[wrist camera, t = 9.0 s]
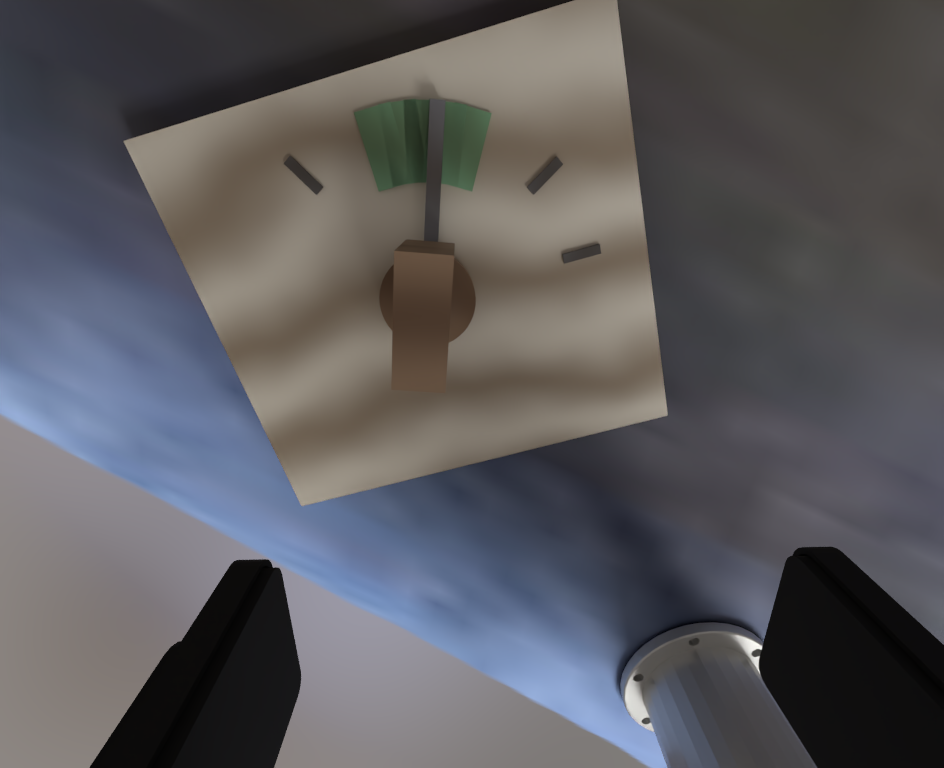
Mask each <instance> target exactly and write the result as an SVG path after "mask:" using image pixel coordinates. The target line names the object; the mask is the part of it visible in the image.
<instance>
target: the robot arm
mask: <svg viewBox="0 0 944 768" xmlns="http://www.w3.org/2000/svg"><path fill="white" fill-rule="evenodd" d="M300 684H301V670H300V665H299V661H298V656H297V650H296V644H295V639H294V635H293V629H292V624H291V619H290V614H289V608H288V603H287V598H286V593H285V588H284V582H283V577H282V573H281V570H280V569H279V568H273V567H272V564H271V562H270V561H269V560H236V561H234V562H233V563H232V564H231V565H230V567H229V569H228V570H227V571H226V573H225V574H224V576H223V578H222V579H221V581H220V582H219V584H218V585H217V587H216V588H215V590H214V592H213V593H212V595H211V596H210V598H209V599H208V601H207V602H206V604H205V606H204V607H203V609H202V610H201V612H200V613H199V615H198V616H197V618H196V619H195V621H194V622H193V624H192V626H191V627H190V629H189V630H188V632H187V634H186V635H185V636H184V638H183V640H182V641H181V642H177V643H176V644H174V645H173V646H172V647H171V648H170V649H169V650H168V651H167V652H166V654H165V655H164V656H163V658H162V659H161V661H160V662H159V664H158V665H157V667H156V668H155V670H154V671H153V673H152V674H151V676H150V677H149V679H148V680H147V682H146V683H145V685H144V686H143V688H142V689H141V691H140V692H139V694H138V695H137V697H136V698H135V700H134V701H133V703H132V704H131V706H130V707H129V709H128V710H127V712H126V713H125V715H124V716H123V718H122V719H121V721H120V723H119V724H118V725H117V727H116V729H115V730H114V732H113V733H112V734H111V736H110V737H109V739H108V741H107V742H106V744H105V745H104V747H103V748H102V750H101V751H100V753H99V754H98V756H97V757H96V759H95V760H94V762H93V763H92V765H91V766H90V768H274V765H275V763H276V760H277V757H278V754H279V751H280V748H281V745H282V742H283V739H284V736H285V733H286V730H287V727H288V724H289V721H290V718H291V715H292V712H293V709H294V706H295V703H296V700H297V697H298V694H299V690H300ZM620 687H621V695H622V698H623V701H624V704H625V707H626V709H627V711H628V713H629V715H630V716H631V717H632V718H633V719H634V720H635V721H636V722H637V723H638V724H640V725H641V726H643V727H644V728H646V729H648V730H650V731H653V732H655V734H656V737H657V740H658V743H659V745H660V748H661V751H662V753H663V756H664V759H665V762H666V764H667V767H668V768H944V645H943V644H942V643H941V642H940V641H939V640H938V639H936V638H935V637H934V636H933V635H932V634H931V633H930V632H929V631H928V630H927V629H925V628H924V627H923V626H922V625H921V624H920V623H919V622H918V621H917V620H916V619H915V618H913V617H912V616H911V615H910V614H909V613H908V612H907V611H906V610H905V609H904V608H903V607H901V606H900V605H899V604H898V603H897V602H896V601H895V600H894V599H893V598H892V597H891V596H889V595H888V594H887V593H886V592H885V591H884V590H883V589H882V588H881V587H880V586H879V585H877V584H876V583H875V582H874V581H873V580H872V579H871V578H870V577H869V576H868V575H867V574H865V573H864V572H863V571H862V570H861V569H860V568H859V567H858V566H857V565H856V564H855V563H853V562H852V561H851V560H850V559H849V558H848V557H847V556H846V555H845V554H844V553H843V552H841V551H840V550H838V549H837V548H834V547H802V548H798V549H797V550H795V552H794V554H793V556H790V557H788V558H787V560H786V562H785V566H784V570H783V573H782V577H781V581H780V584H779V588H778V592H777V595H776V599H775V603H774V606H773V610H772V613H771V617H770V621H769V624H768V628H767V632H766V635H765V639H764V643H763V642H762V641H761V640H760V639H759V638H758V637H757V636H756V635H754V634H753V633H752V632H750V631H748V630H746V629H744V628H742V627H738V626H735V625H731V624H726V623H716V622H707V623H695V624H690V625H684V626H681V627H678V628H675V629H672V630H669V631H667V632H665V633H663V634H661V635H658V636H656V637H655V638H653V639H652V640H650V641H649V642H647V643H646V644H644V645H643V646H642V647H641V648H640V649H639V650H638V651H637V652H636V653H635V654H634V655H633V656H632V658H631V659H630V660H629V662H628V663H627V665H626V667H625V669H624V671H623V673H622V678H621V682H620Z"/></svg>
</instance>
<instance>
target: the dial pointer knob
mask: <svg viewBox="0 0 944 768" xmlns="http://www.w3.org/2000/svg"><path fill="white" fill-rule="evenodd" d="M445 104H446V102H445V100H440V99H430V108H429V132H428V156H427V179H426V203H425V227H424V241H421V240H409V239H406V240H405V241H404V242H403V243H402V244H401V245H400V246H399V247H398V248H396V249H395V250H394V264H393V265H392V266H391V268H390V269H389V270H388V272H387V273H386V275H385V277H384V279H383V281H382V284H381V288H380V294H379V302H380V308H381V312H382V315H383V317H384V320H385V322H386V323H387V325H388V326H389V328H390V329H391V330H392V380H391V390H402V391H418V392H434V393H445V390H446V375H447V360H448V345H449V342H451V341H453V340H455V339H456V338H457V337H459V336H460V335H461V334H462V333H463V332H464V331H465V330H466V328H467V327H468V326H469V324H470V322H471V320H472V318H473V315H474V311H475V306H476V296H475V289H474V285H473V282H472V279H471V277H470V275H469V273H468V271H467V270H466V269H465V267H464V266H463V265H462V264H461V263H460V262H459V261H458V260H457V259H455V258H454V251H455V243H446V242H438V236H439V217H440V198H441V179H442V160H443V141H444V123H445Z"/></svg>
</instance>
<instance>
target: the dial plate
mask: <svg viewBox="0 0 944 768" xmlns="http://www.w3.org/2000/svg"><path fill="white" fill-rule="evenodd" d="M430 99H440V100H445V102H446V104H445V123H444V141H443V160H442V179H441V198H440V217H439V236H438V242H446V243H455V251H454V258H455V259H457V260H458V261H459V262H460V263H461V264H462V265H463V266H464V267H465V269H466V270H467V271H468V273H469V275H470V277H471V279H472V282H473V285H474V289H475V296H476V306H475V311H474V315H473V318H472V320H471V322H470V324H469V326H468V327H467V328H466V330H465V331H464V332H463V333H462V334H461V335H460V336H459V337H457V338H456V339H455V340H453V341H451V342H449V345H448V360H447V375H446V390H445V393H434V392H418V391H402V390H391V380H392V330H391V329H390V328H389V326H388V325H387V323H386V322H385V320H384V317H383V315H382V312H381V308H380V302H379V294H380V288H381V284H382V281H383V279H384V277H385V275H386V273H387V272H388V270H389V269H390V268H391V266H392V265H393V264H394V250H395V249H396V248H398V247H399V246H400V245H401V244H402V243H403V242H404V241H405V240H406V239H409V240H421V241H424V227H425V203H426V179H427V156H428V132H429V108H430ZM124 144H125V146H126V148H127V150H128V152H129V154H130V156H131V158H132V160H133V162H134V164H135V166H136V168H137V170H138V172H139V174H140V176H141V178H142V180H143V182H144V184H145V187H146V189H147V191H148V193H149V195H150V197H151V199H152V201H153V203H154V205H155V207H156V209H157V211H158V213H159V215H160V217H161V219H162V221H163V223H164V225H165V227H166V230H167V232H168V234H169V236H170V238H171V240H172V242H173V244H174V246H175V248H176V250H177V252H178V254H179V256H180V258H181V260H182V262H183V264H184V266H185V268H186V270H187V273H188V275H189V277H190V279H191V281H192V283H193V285H194V287H195V289H196V291H197V293H198V295H199V297H200V299H201V301H202V303H203V305H204V307H205V309H206V311H207V313H208V316H209V318H210V320H211V322H212V324H213V326H214V328H215V330H216V332H217V334H218V336H219V338H220V340H221V342H222V344H223V346H224V348H225V350H226V352H227V354H228V356H229V359H230V361H231V363H232V365H233V367H234V369H235V371H236V373H237V375H238V377H239V379H240V381H241V383H242V385H243V387H244V389H245V391H246V393H247V395H248V397H249V399H250V402H251V404H252V406H253V408H254V410H255V412H256V414H257V416H258V418H259V420H260V422H261V424H262V426H263V428H264V430H265V432H266V434H267V436H268V438H269V440H270V442H271V445H272V447H273V449H274V451H275V453H276V455H277V457H278V459H279V461H280V463H281V465H282V467H283V469H284V471H285V473H286V475H287V477H288V479H289V481H290V483H291V485H292V488H293V490H294V492H295V494H296V496H297V498H298V500H299V502H300V504H301V506H305V505H309V504H313V503H317V502H321V501H325V500H329V499H333V498H337V497H341V496H345V495H349V494H353V493H357V492H361V491H365V490H369V489H373V488H377V487H381V486H385V485H390V484H394V483H398V482H402V481H406V480H410V479H414V478H418V477H422V476H426V475H430V474H434V473H438V472H442V471H446V470H450V469H454V468H458V467H462V466H466V465H470V464H474V463H478V462H482V461H486V460H490V459H494V458H499V457H503V456H507V455H511V454H515V453H519V452H523V451H527V450H531V449H535V448H539V447H543V446H547V445H551V444H555V443H559V442H563V441H567V440H571V439H575V438H579V437H583V436H587V435H591V434H595V433H599V432H603V431H608V430H612V429H616V428H620V427H624V426H628V425H632V424H636V423H640V422H644V421H648V420H652V419H656V418H660V417H664V416H668V413H667V405H666V396H665V388H664V380H663V372H662V364H661V356H660V347H659V339H658V331H657V323H656V315H655V307H654V298H653V290H652V282H651V274H650V266H649V258H648V250H647V241H646V233H645V225H644V217H643V209H642V201H641V192H640V184H639V176H638V168H637V160H636V152H635V143H634V135H633V127H632V119H631V111H630V103H629V94H628V86H627V78H626V70H625V62H624V54H623V45H622V37H621V29H620V21H619V13H618V5H617V0H574V1H570V2H567V3H564V4H561V5H558V6H554V7H551V8H548V9H545V10H542V11H538V12H535V13H532V14H529V15H526V16H522V17H519V18H516V19H513V20H510V21H506V22H503V23H500V24H497V25H494V26H490V27H487V28H484V29H481V30H478V31H474V32H471V33H468V34H465V35H462V36H458V37H455V38H452V39H449V40H446V41H442V42H439V43H436V44H433V45H429V46H426V47H423V48H420V49H417V50H413V51H410V52H407V53H404V54H401V55H397V56H394V57H391V58H388V59H385V60H381V61H378V62H375V63H372V64H369V65H365V66H362V67H359V68H356V69H353V70H349V71H346V72H343V73H340V74H337V75H333V76H330V77H327V78H324V79H321V80H317V81H314V82H311V83H308V84H305V85H301V86H298V87H295V88H292V89H289V90H285V91H282V92H279V93H276V94H273V95H269V96H266V97H263V98H260V99H257V100H253V101H250V102H247V103H244V104H240V105H237V106H234V107H231V108H228V109H224V110H221V111H218V112H215V113H212V114H208V115H205V116H202V117H199V118H196V119H192V120H189V121H186V122H183V123H180V124H176V125H173V126H170V127H167V128H164V129H160V130H157V131H154V132H151V133H148V134H144V135H141V136H138V137H135V138H132V139H128V140H125V141H124Z"/></svg>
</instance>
